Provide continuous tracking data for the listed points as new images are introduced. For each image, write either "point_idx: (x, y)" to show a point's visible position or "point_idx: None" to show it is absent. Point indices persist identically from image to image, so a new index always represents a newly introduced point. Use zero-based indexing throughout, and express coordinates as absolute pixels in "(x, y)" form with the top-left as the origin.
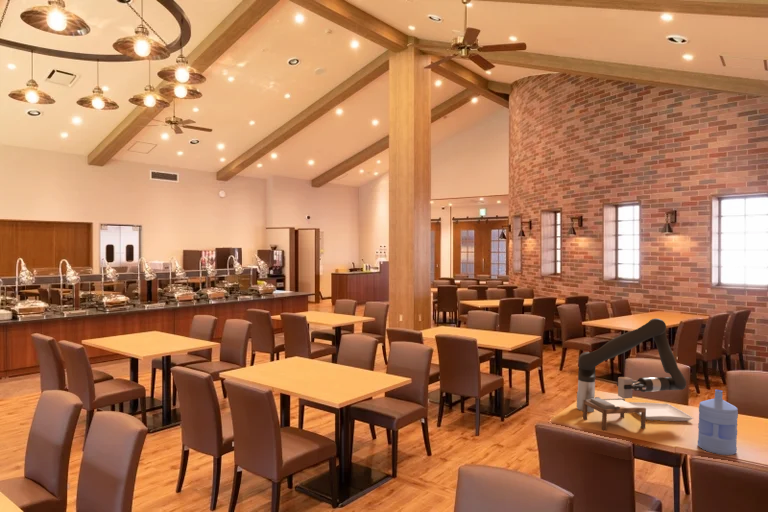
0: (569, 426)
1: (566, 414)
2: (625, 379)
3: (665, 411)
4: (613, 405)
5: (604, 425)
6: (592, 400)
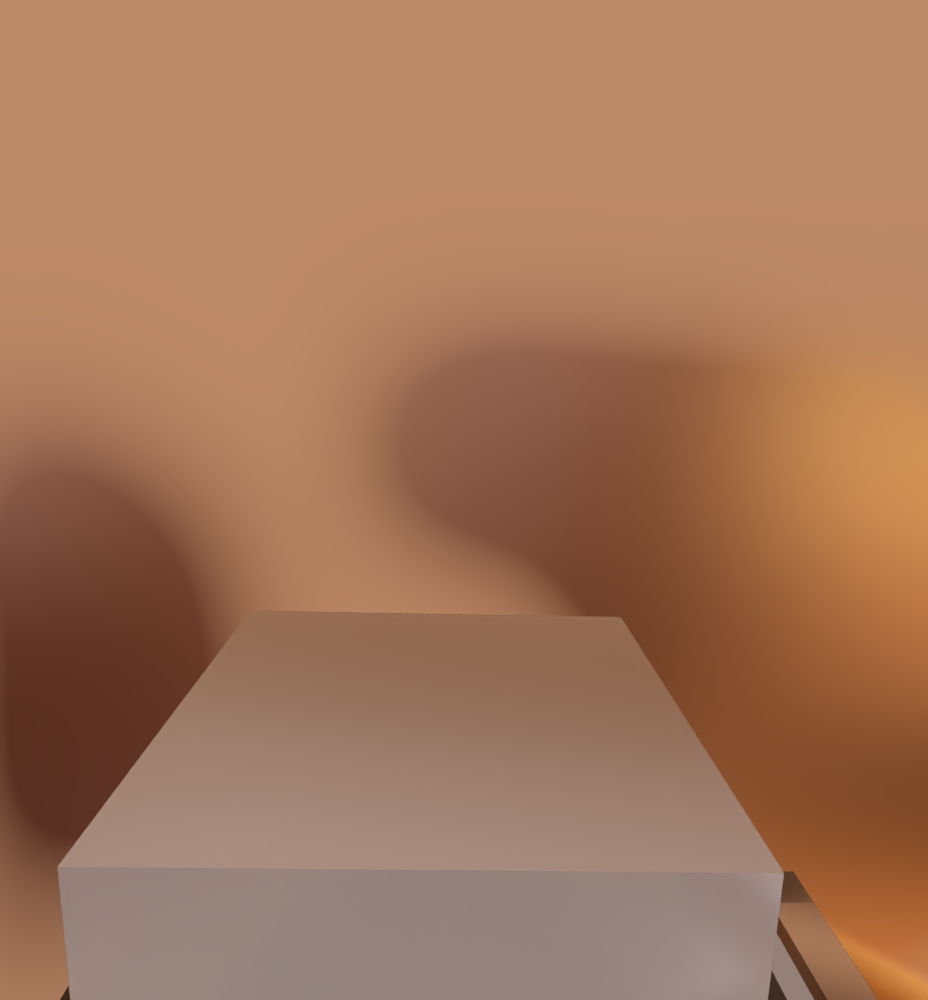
0: None
1: (884, 989)
2: (241, 634)
3: None
4: None
5: None
6: None
